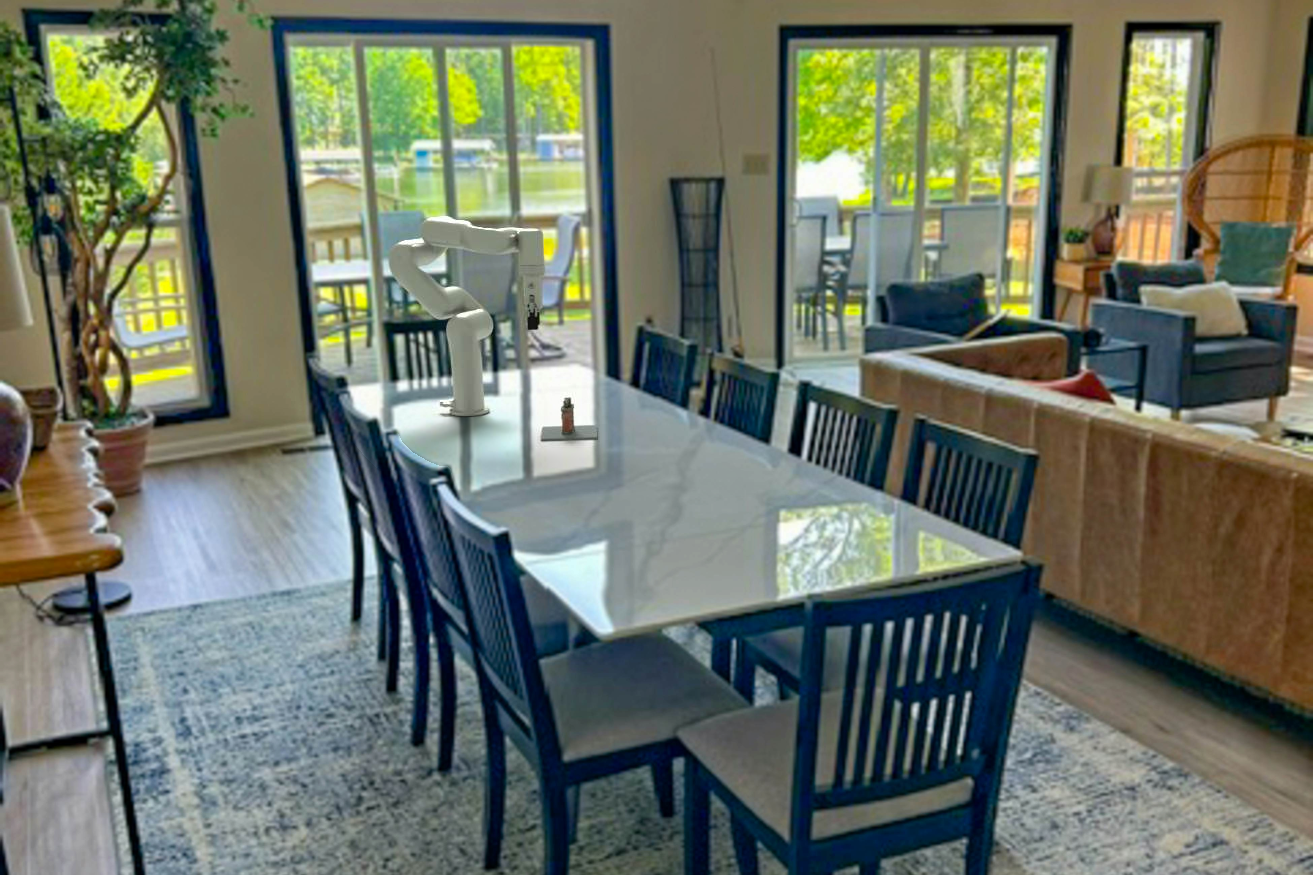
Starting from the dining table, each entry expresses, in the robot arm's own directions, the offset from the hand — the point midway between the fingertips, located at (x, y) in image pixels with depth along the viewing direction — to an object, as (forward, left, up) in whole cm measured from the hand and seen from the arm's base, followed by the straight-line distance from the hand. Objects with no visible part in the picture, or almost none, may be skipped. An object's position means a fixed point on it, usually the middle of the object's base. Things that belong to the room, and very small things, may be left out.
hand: (533, 327), depth 343 cm
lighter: (+10, -23, -28) cm, 37 cm away
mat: (+10, -23, -28) cm, 38 cm away
